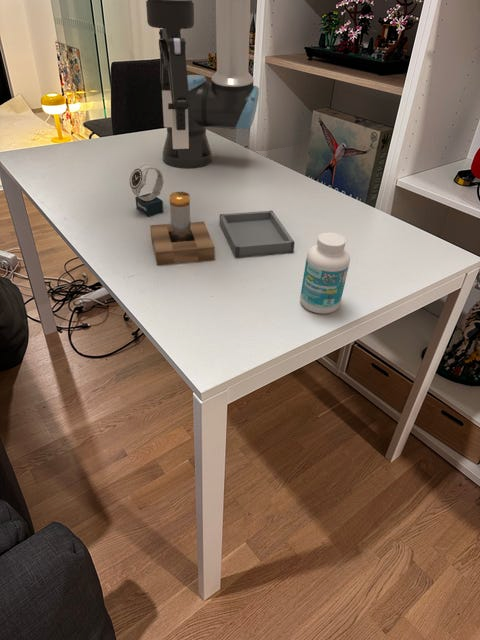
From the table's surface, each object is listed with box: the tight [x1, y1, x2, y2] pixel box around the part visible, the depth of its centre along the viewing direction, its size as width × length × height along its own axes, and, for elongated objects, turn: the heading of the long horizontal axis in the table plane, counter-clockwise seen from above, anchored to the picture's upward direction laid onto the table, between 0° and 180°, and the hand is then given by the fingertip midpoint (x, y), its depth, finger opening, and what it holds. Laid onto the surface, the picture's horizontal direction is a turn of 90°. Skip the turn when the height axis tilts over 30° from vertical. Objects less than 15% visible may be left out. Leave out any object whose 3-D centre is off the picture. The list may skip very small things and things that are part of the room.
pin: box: [169, 191, 191, 242], centre depth 96 cm, size 4×4×12 cm
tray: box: [219, 210, 295, 259], centre depth 104 cm, size 16×13×2 cm
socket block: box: [149, 220, 216, 266], centre depth 99 cm, size 12×12×3 cm
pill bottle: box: [299, 232, 351, 315], centre depth 82 cm, size 8×7×14 cm
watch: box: [129, 164, 165, 218], centre depth 111 cm, size 6×8×11 cm
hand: (175, 137), depth 86 cm, fingers open, 13 cm apart
